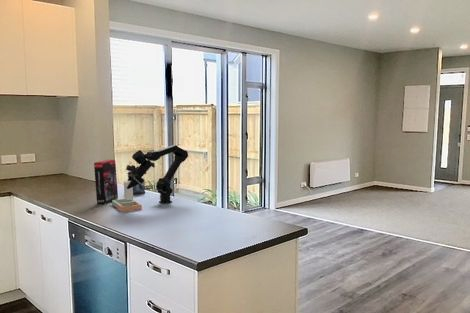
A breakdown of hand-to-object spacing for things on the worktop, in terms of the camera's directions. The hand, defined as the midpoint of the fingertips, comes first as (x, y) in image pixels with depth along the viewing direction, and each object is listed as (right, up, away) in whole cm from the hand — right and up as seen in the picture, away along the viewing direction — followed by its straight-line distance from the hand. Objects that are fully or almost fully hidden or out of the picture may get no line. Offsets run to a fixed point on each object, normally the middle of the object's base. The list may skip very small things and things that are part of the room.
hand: (126, 187), depth 241 cm
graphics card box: (-19, -11, +23) cm, 32 cm away
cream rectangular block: (+1, -7, +1) cm, 7 cm away
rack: (-1, -12, +7) cm, 14 cm away
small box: (-5, -8, +50) cm, 50 cm away
